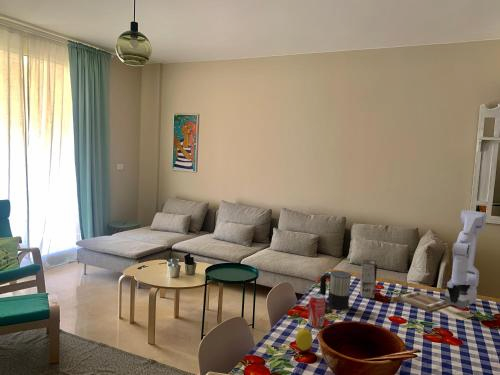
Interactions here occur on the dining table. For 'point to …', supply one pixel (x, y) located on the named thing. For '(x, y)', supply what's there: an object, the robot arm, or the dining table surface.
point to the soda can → (316, 310)
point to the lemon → (304, 339)
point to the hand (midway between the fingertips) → (456, 301)
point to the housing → (459, 299)
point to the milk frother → (336, 289)
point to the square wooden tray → (422, 301)
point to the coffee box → (368, 278)
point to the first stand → (455, 313)
